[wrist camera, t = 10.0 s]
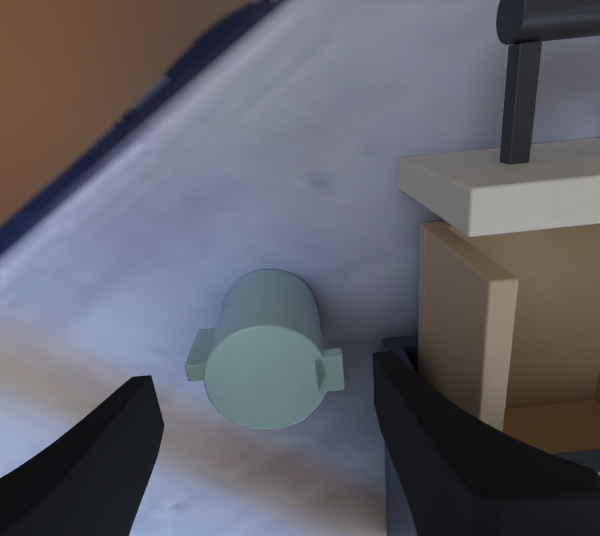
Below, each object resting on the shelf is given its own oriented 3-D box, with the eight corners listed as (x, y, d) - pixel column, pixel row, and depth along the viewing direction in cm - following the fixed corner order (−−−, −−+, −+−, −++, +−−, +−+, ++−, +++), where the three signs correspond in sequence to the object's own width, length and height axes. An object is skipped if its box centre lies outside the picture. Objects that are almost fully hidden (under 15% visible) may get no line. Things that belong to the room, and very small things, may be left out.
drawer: (397, 18, 14) (484, -49, 8) (691, -11, 14) (997, -100, 8) (399, 415, 20) (450, 545, 14) (605, 393, 20) (742, 513, 14)
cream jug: (324, 262, 18) (340, 317, 13) (331, 346, 19) (347, 422, 15) (196, 275, 18) (166, 336, 13) (213, 359, 19) (192, 439, 14)
